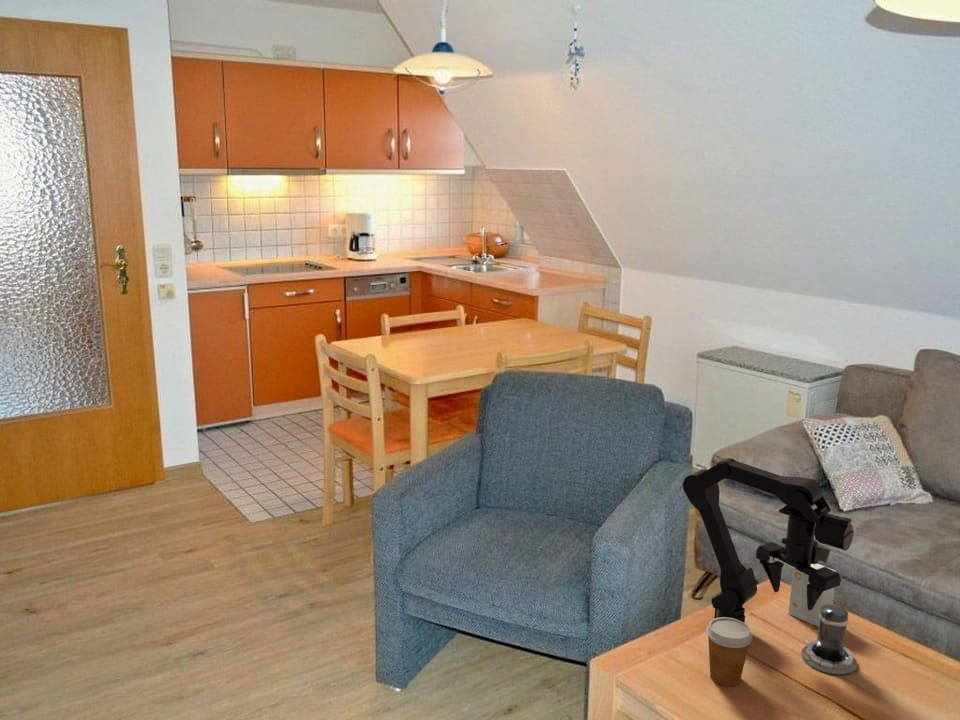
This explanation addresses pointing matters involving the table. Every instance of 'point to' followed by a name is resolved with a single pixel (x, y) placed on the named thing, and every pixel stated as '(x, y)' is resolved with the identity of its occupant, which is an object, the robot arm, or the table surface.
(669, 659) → the table surface
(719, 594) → the robot arm
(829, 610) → the lens
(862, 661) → the table surface
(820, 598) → the small box
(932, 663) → the table surface
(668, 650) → the table surface
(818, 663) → the mount ring
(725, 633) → the disposable coffee cup
